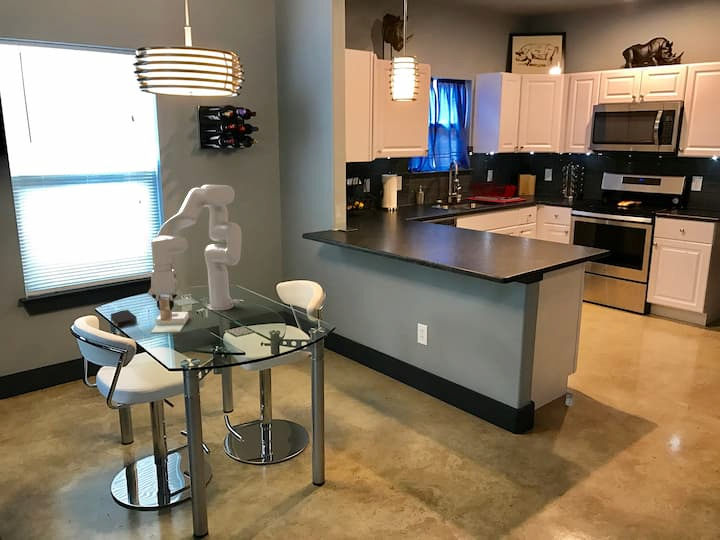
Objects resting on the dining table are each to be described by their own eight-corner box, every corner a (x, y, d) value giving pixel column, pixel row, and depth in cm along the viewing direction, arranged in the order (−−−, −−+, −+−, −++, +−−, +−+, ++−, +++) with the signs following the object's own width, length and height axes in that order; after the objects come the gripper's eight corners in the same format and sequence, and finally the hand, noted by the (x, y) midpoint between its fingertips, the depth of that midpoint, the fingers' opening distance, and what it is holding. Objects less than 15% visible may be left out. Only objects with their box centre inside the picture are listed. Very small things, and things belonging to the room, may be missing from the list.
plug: (172, 317, 251) (170, 295, 249) (170, 320, 247) (168, 298, 245) (162, 318, 250) (161, 295, 248) (160, 320, 246) (158, 298, 244)
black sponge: (138, 325, 258) (137, 317, 257) (118, 329, 253) (117, 321, 252) (128, 316, 271) (128, 309, 270) (109, 319, 266) (108, 312, 265)
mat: (184, 326, 255) (183, 324, 255) (179, 333, 246) (179, 331, 246) (156, 327, 254) (156, 325, 254) (151, 334, 245) (150, 332, 245)
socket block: (188, 318, 266) (188, 311, 265) (184, 325, 256) (183, 318, 255) (162, 319, 264) (161, 312, 264) (156, 326, 255) (156, 319, 254)
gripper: (184, 265, 248) (187, 306, 252) (144, 266, 246) (148, 307, 250) (181, 269, 241) (183, 310, 245) (139, 269, 239) (143, 312, 243)
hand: (165, 308), depth 248 cm, fingers closed on plug, 4 cm apart
